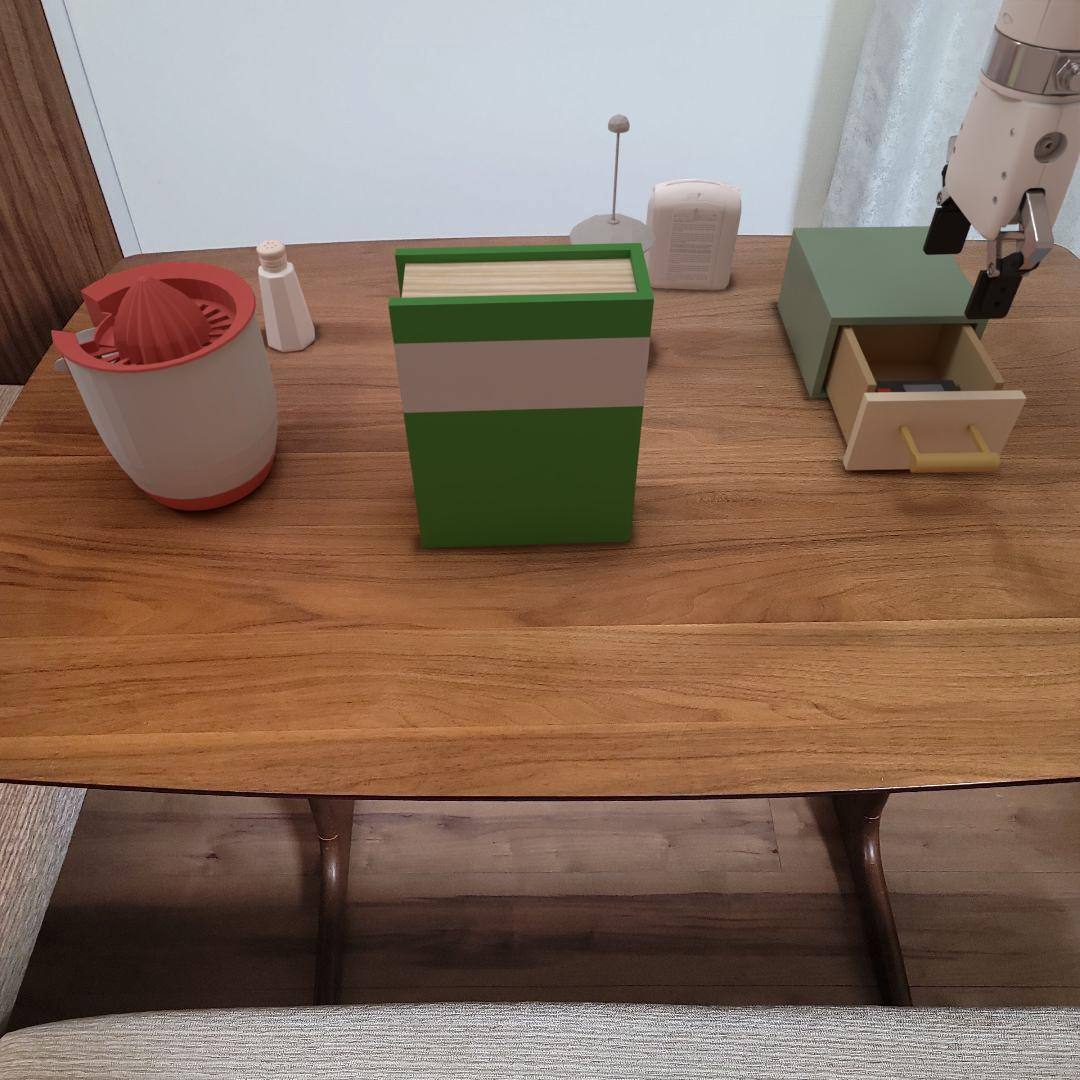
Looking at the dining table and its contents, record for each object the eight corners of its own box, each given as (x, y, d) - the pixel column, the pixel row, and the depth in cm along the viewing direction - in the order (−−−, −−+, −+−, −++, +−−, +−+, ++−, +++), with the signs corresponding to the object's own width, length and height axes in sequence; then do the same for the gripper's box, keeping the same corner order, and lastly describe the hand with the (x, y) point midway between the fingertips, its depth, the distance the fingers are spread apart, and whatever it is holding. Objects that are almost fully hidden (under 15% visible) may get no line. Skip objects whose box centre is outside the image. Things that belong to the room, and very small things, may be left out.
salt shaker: (325, 342, 100) (306, 248, 92) (278, 359, 98) (254, 265, 90) (304, 319, 103) (284, 226, 95) (258, 334, 101) (233, 241, 93)
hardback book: (422, 551, 79) (388, 305, 61) (426, 491, 84) (395, 248, 66) (629, 545, 79) (654, 299, 62) (620, 485, 84) (641, 242, 67)
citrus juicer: (139, 413, 92) (63, 224, 77) (312, 419, 91) (269, 229, 76) (75, 526, 81) (-27, 330, 66) (271, 533, 80) (212, 338, 66)
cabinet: (956, 399, 93) (990, 315, 86) (809, 401, 93) (831, 317, 85) (907, 307, 104) (933, 225, 97) (776, 308, 104) (793, 227, 97)
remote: (944, 401, 89) (953, 376, 87) (959, 430, 86) (969, 406, 84) (851, 403, 89) (858, 378, 87) (863, 432, 86) (871, 407, 84)
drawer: (1016, 509, 81) (1052, 440, 75) (861, 512, 80) (885, 442, 75) (939, 365, 95) (965, 298, 89) (807, 367, 95) (824, 300, 89)
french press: (630, 323, 102) (649, 87, 84) (673, 383, 95) (704, 139, 76) (546, 339, 100) (547, 101, 82) (583, 403, 92) (593, 155, 74)
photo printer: (727, 275, 109) (744, 172, 100) (730, 295, 106) (747, 191, 97) (640, 272, 110) (648, 170, 101) (640, 292, 107) (649, 188, 98)
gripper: (1161, 111, 57) (1051, 343, 70) (1044, 17, 69) (968, 230, 82) (1042, 113, 57) (953, 346, 70) (945, 19, 69) (884, 232, 81)
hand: (961, 283), depth 76 cm, fingers open, 9 cm apart
